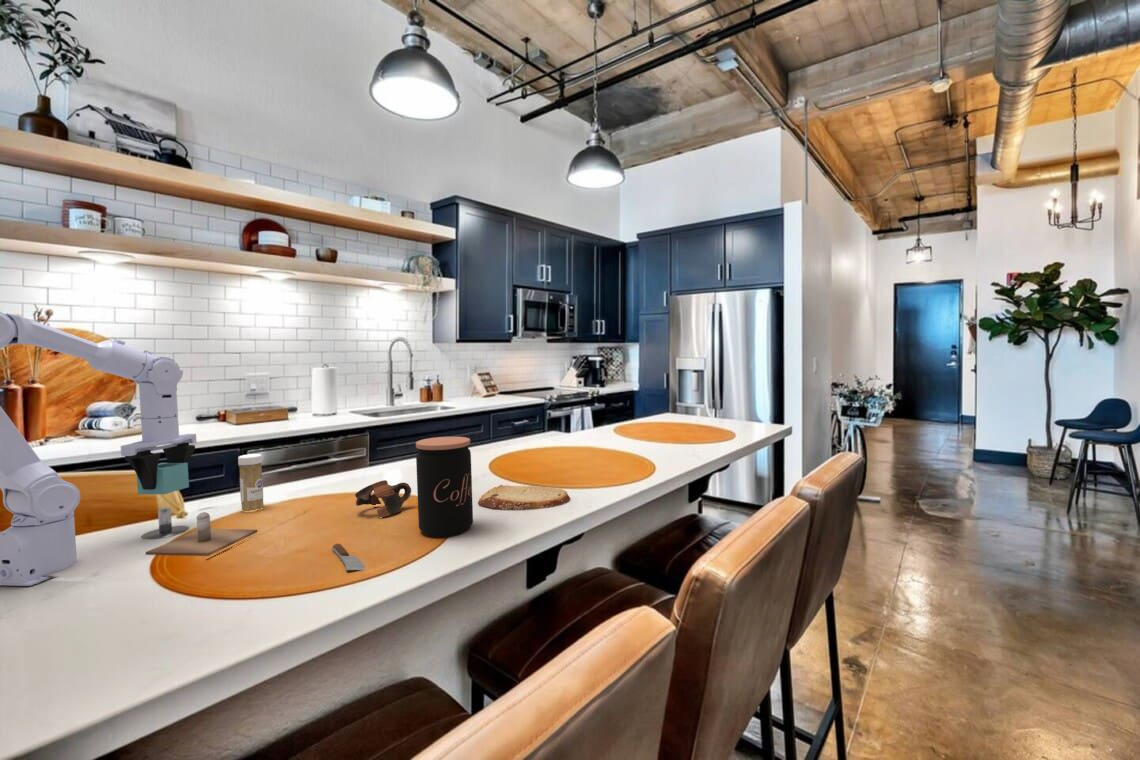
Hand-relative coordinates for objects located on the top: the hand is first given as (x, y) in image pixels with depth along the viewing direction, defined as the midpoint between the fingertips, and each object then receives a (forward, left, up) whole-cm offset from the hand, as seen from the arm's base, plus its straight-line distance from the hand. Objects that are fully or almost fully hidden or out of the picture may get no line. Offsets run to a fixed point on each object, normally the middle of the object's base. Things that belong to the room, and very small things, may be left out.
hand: (163, 485), depth 100 cm
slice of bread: (+26, -68, -11) cm, 73 cm away
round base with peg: (0, 0, -10) cm, 10 cm away
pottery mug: (+17, -37, -11) cm, 42 cm away
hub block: (-5, -13, -10) cm, 17 cm away
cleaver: (-9, -44, -11) cm, 46 cm away
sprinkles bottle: (+15, -7, -11) cm, 20 cm away
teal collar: (0, 0, -1) cm, 1 cm away
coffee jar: (+6, -56, -11) cm, 57 cm away
